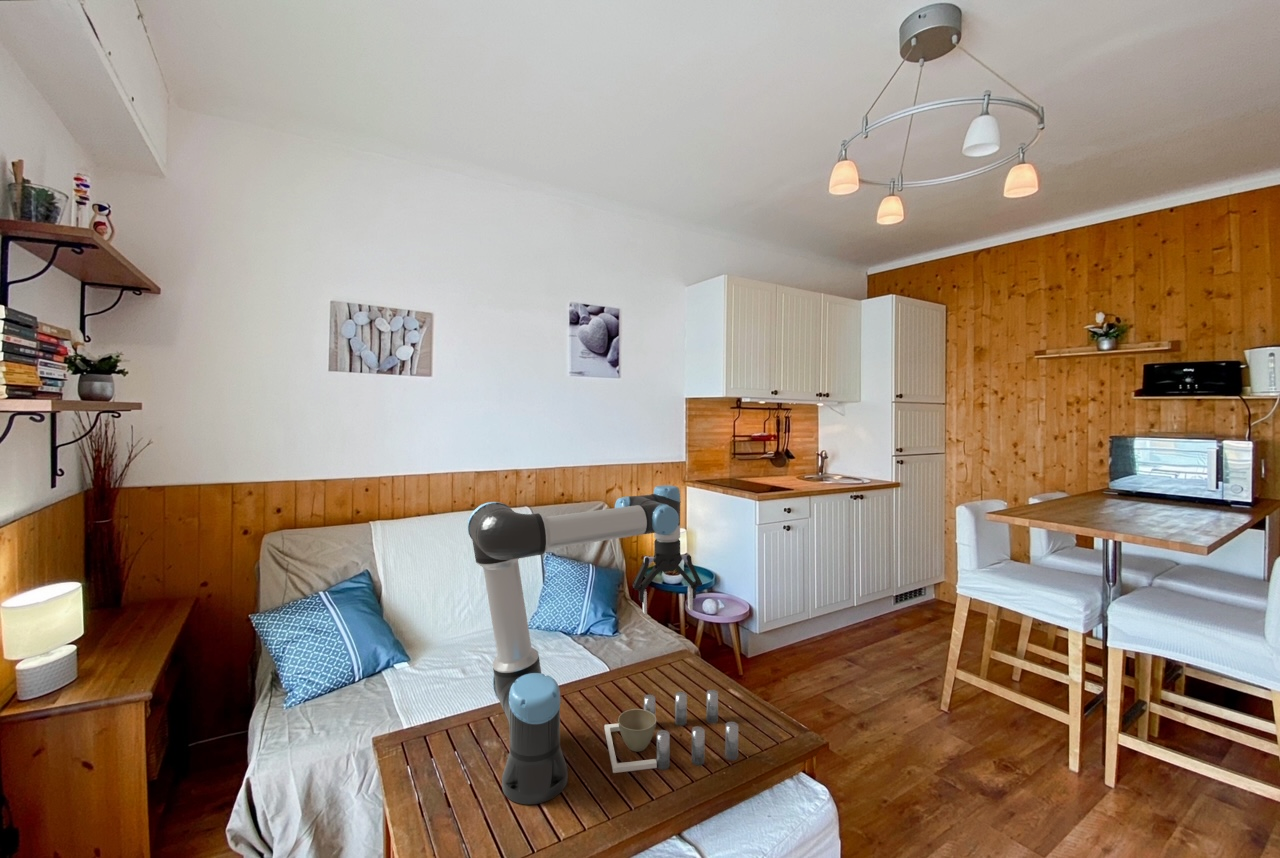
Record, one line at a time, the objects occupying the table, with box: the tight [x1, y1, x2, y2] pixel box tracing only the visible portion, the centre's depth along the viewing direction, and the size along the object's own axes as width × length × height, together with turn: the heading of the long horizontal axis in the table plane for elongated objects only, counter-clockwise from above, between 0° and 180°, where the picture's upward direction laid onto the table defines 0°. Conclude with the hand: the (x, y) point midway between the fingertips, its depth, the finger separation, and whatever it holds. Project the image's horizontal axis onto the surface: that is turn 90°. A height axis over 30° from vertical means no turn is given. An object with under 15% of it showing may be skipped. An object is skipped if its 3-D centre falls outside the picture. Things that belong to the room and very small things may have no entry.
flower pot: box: [617, 708, 657, 753], centre depth 141 cm, size 10×10×7 cm
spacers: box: [643, 689, 739, 771], centre depth 144 cm, size 21×20×8 cm
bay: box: [604, 723, 658, 774], centre depth 141 cm, size 11×18×1 cm, turn 10°
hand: (667, 611), depth 158 cm, fingers open, 13 cm apart
